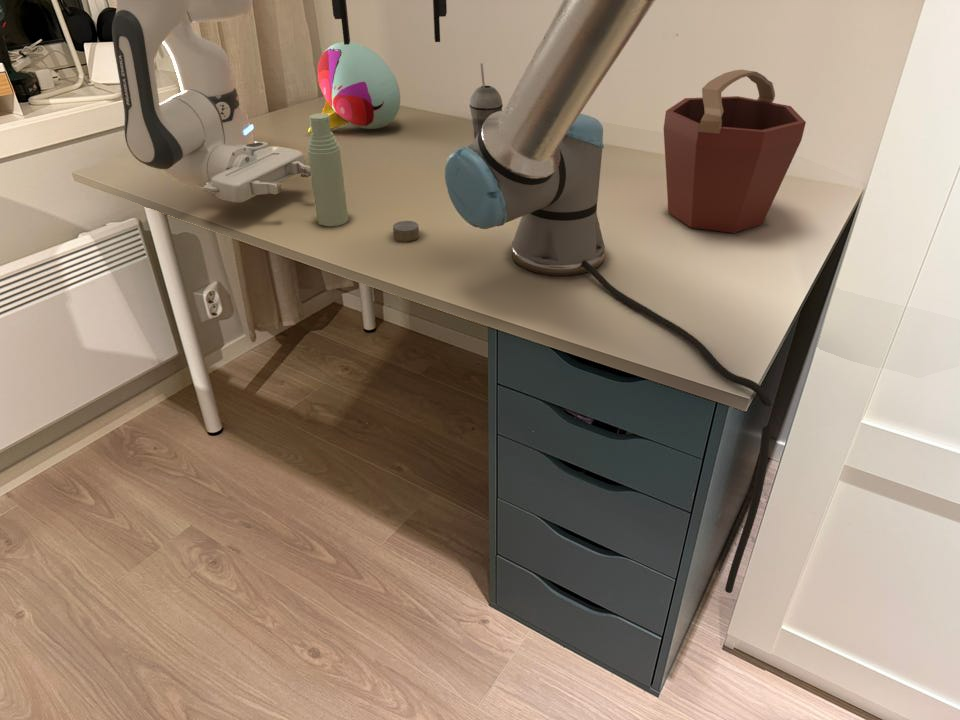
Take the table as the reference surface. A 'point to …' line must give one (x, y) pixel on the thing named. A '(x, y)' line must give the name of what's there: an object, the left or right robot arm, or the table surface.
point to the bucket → (728, 154)
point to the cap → (406, 231)
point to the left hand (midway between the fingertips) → (294, 180)
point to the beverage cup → (484, 104)
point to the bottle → (326, 173)
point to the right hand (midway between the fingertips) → (392, 42)
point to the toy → (357, 87)
